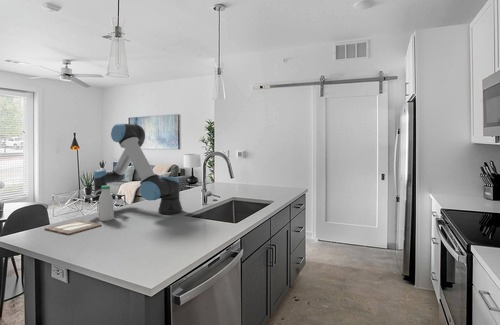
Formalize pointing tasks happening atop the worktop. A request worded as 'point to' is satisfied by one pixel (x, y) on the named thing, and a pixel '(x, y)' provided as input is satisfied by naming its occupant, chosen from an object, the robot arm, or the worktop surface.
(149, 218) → the worktop surface
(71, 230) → the writing board
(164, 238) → the worktop surface
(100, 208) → the milk bottle
